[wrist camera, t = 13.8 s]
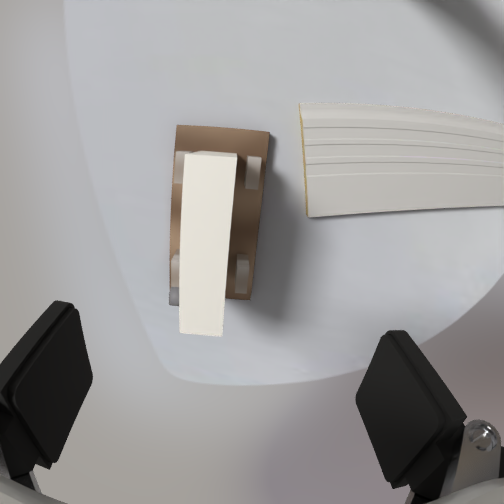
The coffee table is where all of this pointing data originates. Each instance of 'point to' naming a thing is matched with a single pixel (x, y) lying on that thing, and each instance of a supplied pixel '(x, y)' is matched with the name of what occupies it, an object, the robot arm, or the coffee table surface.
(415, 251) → the coffee table surface
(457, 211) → the coffee table surface
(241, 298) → the hinge mount
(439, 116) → the baseboard molding
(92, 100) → the coffee table surface
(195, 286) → the cabinet door
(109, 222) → the coffee table surface
